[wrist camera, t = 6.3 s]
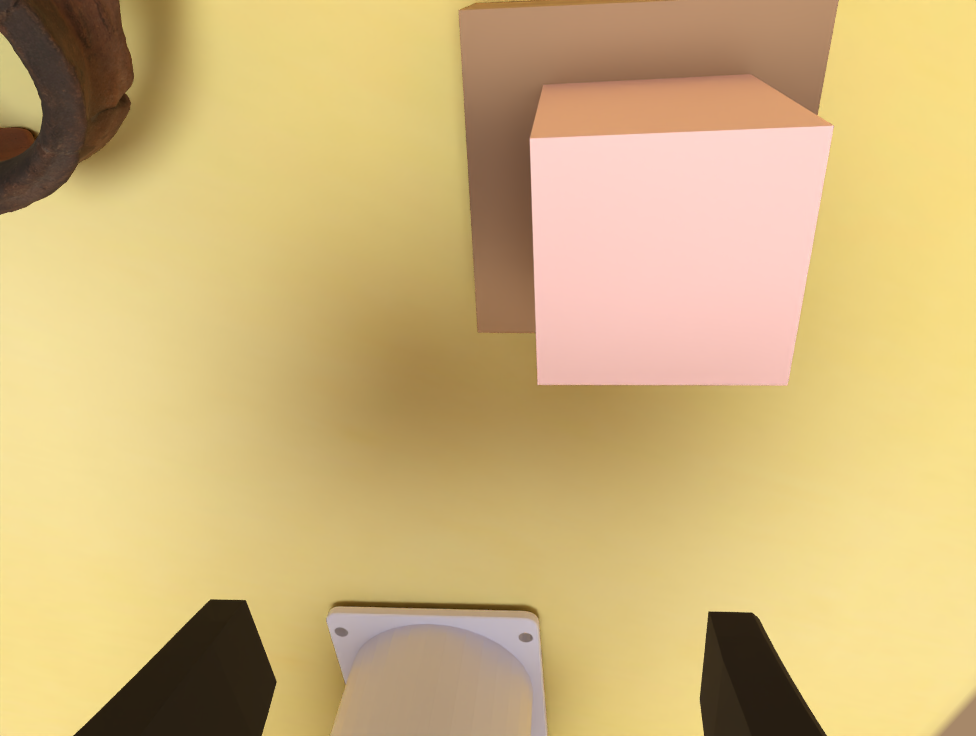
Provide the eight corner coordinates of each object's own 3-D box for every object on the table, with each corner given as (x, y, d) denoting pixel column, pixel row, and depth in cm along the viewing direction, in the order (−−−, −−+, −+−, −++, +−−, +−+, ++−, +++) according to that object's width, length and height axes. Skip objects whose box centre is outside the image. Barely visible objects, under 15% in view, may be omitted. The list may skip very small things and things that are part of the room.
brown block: (749, 283, 19) (776, 335, 16) (490, 283, 19) (477, 332, 17) (794, -13, 15) (840, -7, 13) (477, 2, 16) (458, 9, 13)
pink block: (727, 268, 15) (787, 385, 11) (547, 271, 16) (537, 385, 12) (750, 73, 13) (834, 125, 9) (543, 84, 14) (529, 138, 10)
